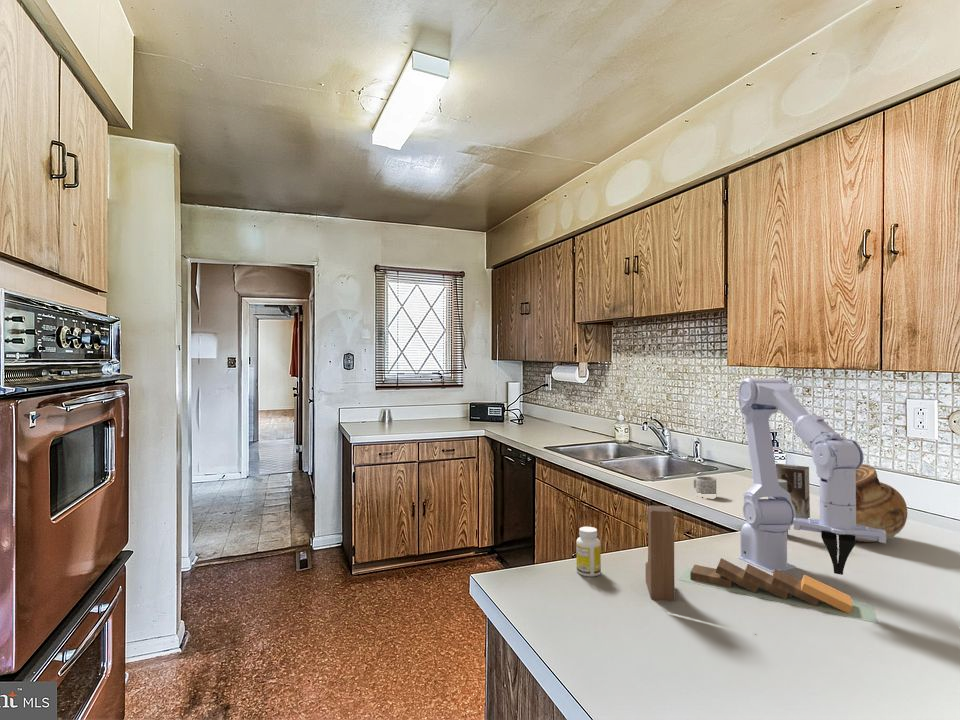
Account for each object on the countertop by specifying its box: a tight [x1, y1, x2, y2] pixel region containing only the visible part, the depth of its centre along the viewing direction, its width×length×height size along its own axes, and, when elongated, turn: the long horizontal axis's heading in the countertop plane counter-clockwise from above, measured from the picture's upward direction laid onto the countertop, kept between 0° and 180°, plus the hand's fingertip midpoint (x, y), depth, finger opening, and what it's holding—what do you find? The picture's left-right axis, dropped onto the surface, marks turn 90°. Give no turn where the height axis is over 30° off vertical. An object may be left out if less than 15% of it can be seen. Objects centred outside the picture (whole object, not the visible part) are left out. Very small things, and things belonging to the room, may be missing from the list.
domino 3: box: [743, 563, 788, 600], centre depth 104 cm, size 2×5×8 cm
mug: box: [692, 475, 717, 495], centre depth 182 cm, size 10×7×7 cm, turn 13°
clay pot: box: [855, 464, 909, 543], centre depth 136 cm, size 19×19×20 cm
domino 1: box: [690, 564, 733, 588], centre depth 109 cm, size 2×5×8 cm
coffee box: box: [775, 463, 811, 519], centre depth 155 cm, size 9×6×16 cm
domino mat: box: [678, 567, 878, 624], centre depth 103 cm, size 34×8×1 cm, turn 57°
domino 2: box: [715, 558, 759, 593], centre depth 107 cm, size 2×5×8 cm
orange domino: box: [800, 574, 852, 614], centre depth 98 cm, size 2×5×8 cm
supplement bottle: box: [575, 526, 602, 577], centre depth 114 cm, size 5×5×10 cm
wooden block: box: [645, 505, 675, 602], centre depth 104 cm, size 9×4×18 cm, turn 169°
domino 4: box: [771, 569, 820, 607], centre depth 101 cm, size 2×5×8 cm
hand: (838, 572), depth 97 cm, fingers closed
